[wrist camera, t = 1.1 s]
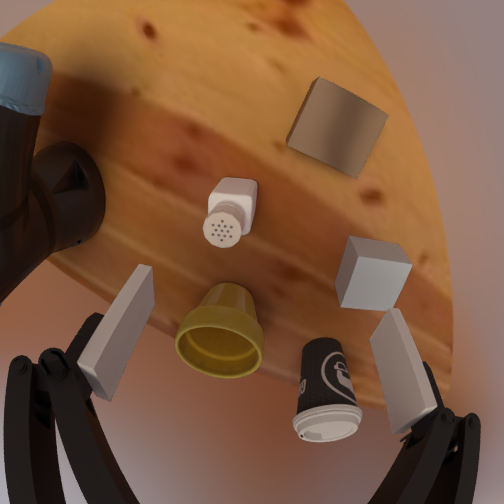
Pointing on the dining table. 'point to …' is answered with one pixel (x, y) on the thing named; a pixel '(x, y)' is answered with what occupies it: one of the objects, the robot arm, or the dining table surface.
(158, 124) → the dining table surface
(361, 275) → the grey-blue block
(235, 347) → the plant pot
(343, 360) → the coffee cup
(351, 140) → the walnut block
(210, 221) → the pepper shaker
